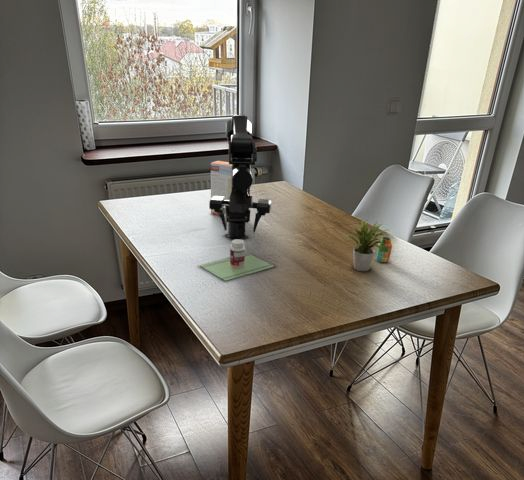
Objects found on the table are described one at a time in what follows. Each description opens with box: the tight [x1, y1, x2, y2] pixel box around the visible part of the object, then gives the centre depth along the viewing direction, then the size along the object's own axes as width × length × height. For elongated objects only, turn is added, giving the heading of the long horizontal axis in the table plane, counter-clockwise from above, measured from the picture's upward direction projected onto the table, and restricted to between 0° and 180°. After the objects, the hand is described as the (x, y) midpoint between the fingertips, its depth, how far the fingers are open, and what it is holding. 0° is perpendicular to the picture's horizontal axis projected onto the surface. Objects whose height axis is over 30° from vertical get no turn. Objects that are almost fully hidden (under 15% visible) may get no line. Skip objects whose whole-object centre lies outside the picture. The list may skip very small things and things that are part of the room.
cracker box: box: [210, 160, 232, 217], centre depth 210 cm, size 14×6×21 cm, turn 58°
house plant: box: [347, 219, 388, 272], centre depth 168 cm, size 14×14×16 cm
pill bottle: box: [229, 239, 246, 268], centre depth 167 cm, size 5×5×8 cm
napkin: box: [199, 253, 275, 282], centre depth 170 cm, size 14×20×1 cm
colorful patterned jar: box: [376, 236, 393, 263], centre depth 177 cm, size 5×5×8 cm
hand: (239, 231), depth 165 cm, fingers open, 9 cm apart
